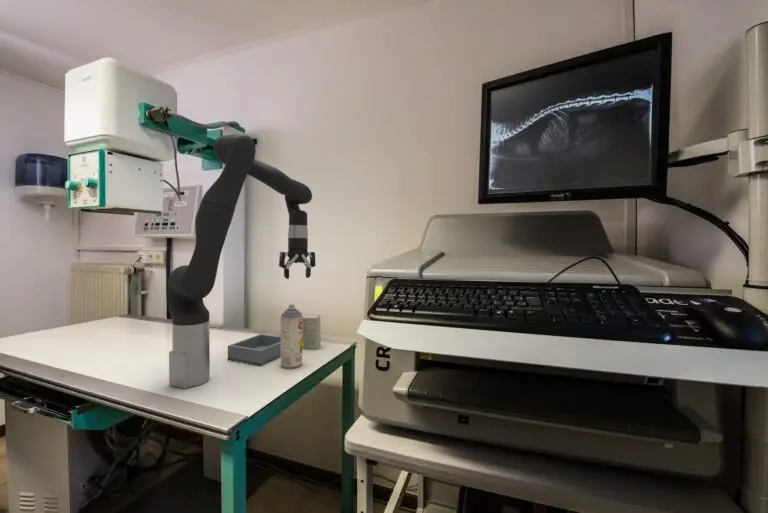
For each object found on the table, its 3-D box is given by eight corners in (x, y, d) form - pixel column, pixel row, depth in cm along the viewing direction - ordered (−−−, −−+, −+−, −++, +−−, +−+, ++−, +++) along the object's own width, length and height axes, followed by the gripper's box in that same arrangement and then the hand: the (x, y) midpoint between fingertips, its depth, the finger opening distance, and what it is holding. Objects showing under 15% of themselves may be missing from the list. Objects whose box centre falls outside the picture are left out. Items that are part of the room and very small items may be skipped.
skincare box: (320, 346, 131) (321, 315, 130) (317, 349, 126) (317, 317, 126) (305, 345, 131) (305, 314, 131) (301, 349, 127) (301, 317, 126)
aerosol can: (302, 368, 108) (302, 306, 107) (280, 369, 106) (280, 307, 105) (302, 360, 114) (302, 302, 113) (281, 362, 113) (281, 303, 112)
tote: (261, 366, 109) (261, 351, 108) (227, 360, 114) (227, 345, 113) (291, 351, 124) (291, 338, 123) (260, 346, 129) (260, 333, 128)
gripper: (284, 236, 125) (283, 280, 125) (318, 237, 134) (318, 278, 134) (276, 236, 131) (276, 278, 131) (310, 237, 139) (309, 276, 140)
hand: (297, 278), depth 133 cm, fingers open, 8 cm apart
